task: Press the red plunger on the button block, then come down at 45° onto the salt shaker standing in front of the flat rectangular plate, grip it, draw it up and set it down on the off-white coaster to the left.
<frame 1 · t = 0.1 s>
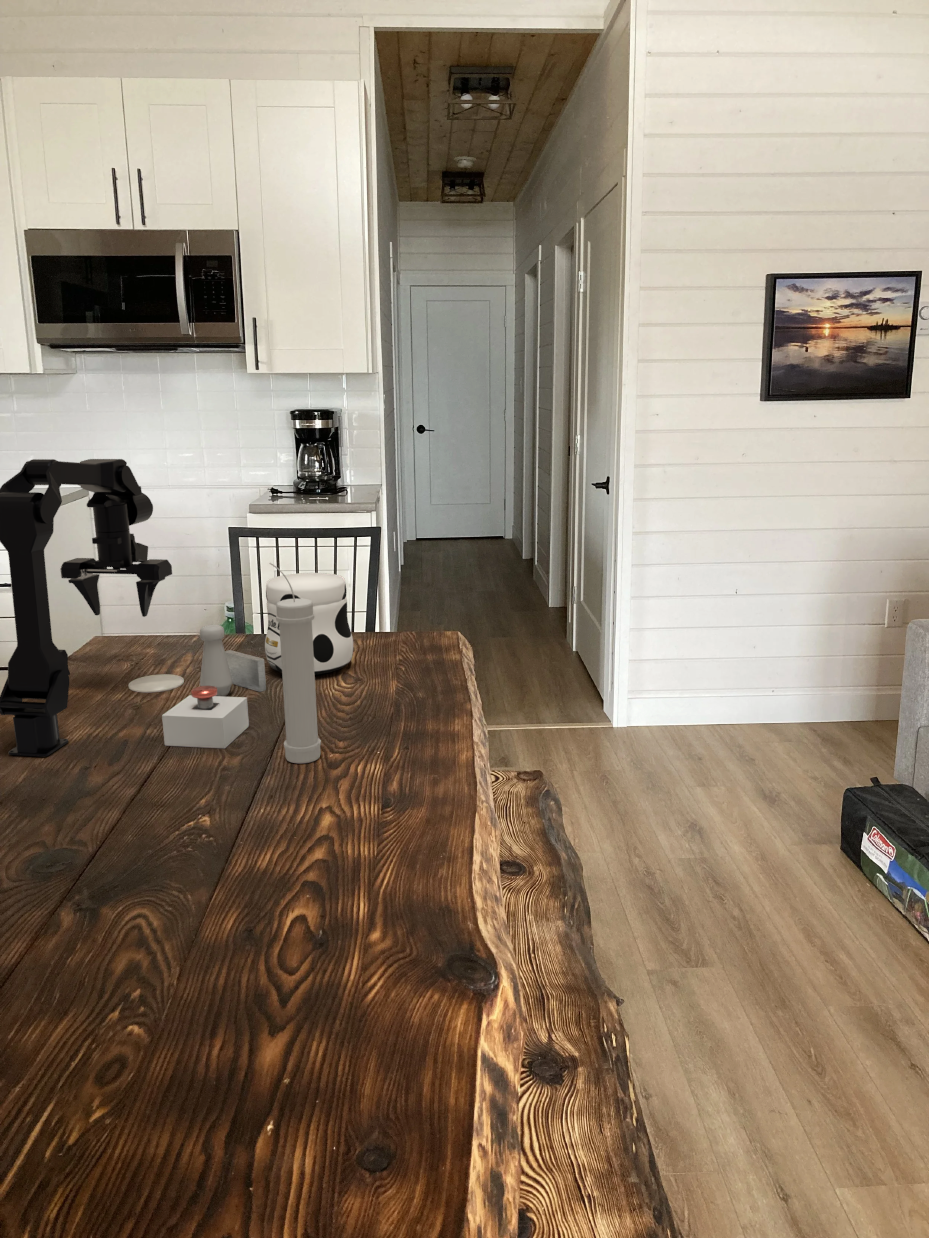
hand: (121, 615, 172), 15 cm above the table, tool pointing down, fingers open, 9 cm apart
button block: (207, 735, 153), on the table
coaster: (156, 684, 180), on the table
salt shaker: (217, 695, 173), on the table
grey cylinder: (301, 758, 144), on the table
plunger: (205, 705, 152), point 5 cm above the table, slide at 0.0 cm
milk container: (310, 669, 189), on the table
flat rectangular plate: (245, 685, 178), on the table
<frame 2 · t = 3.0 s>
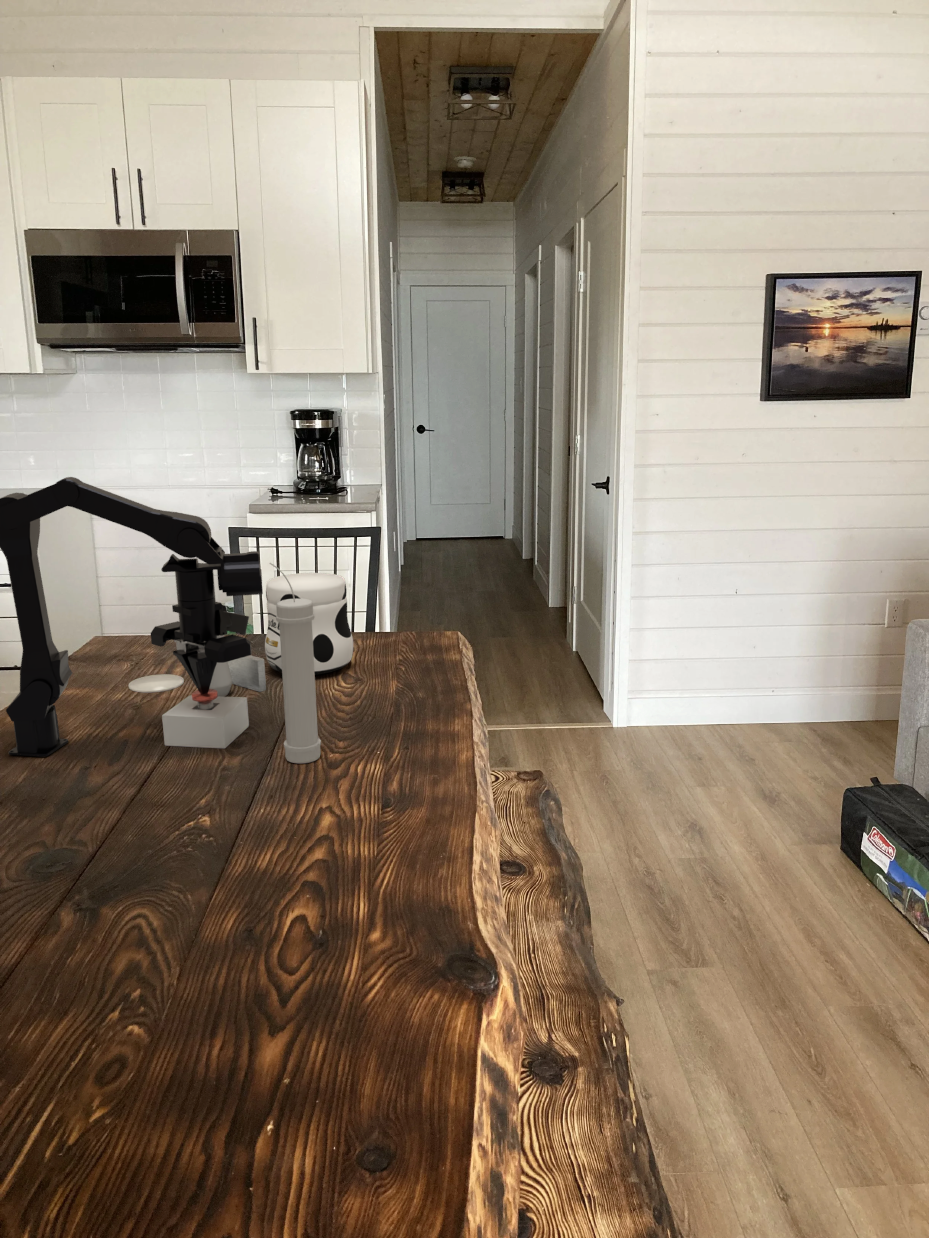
hand: (204, 692, 151), 7 cm above the table, tool pointing down, fingers closed, pressing on plunger
plunger: (205, 708, 152), point 5 cm above the table, slide at 0.6 cm, touching gripper
everything else where it was.
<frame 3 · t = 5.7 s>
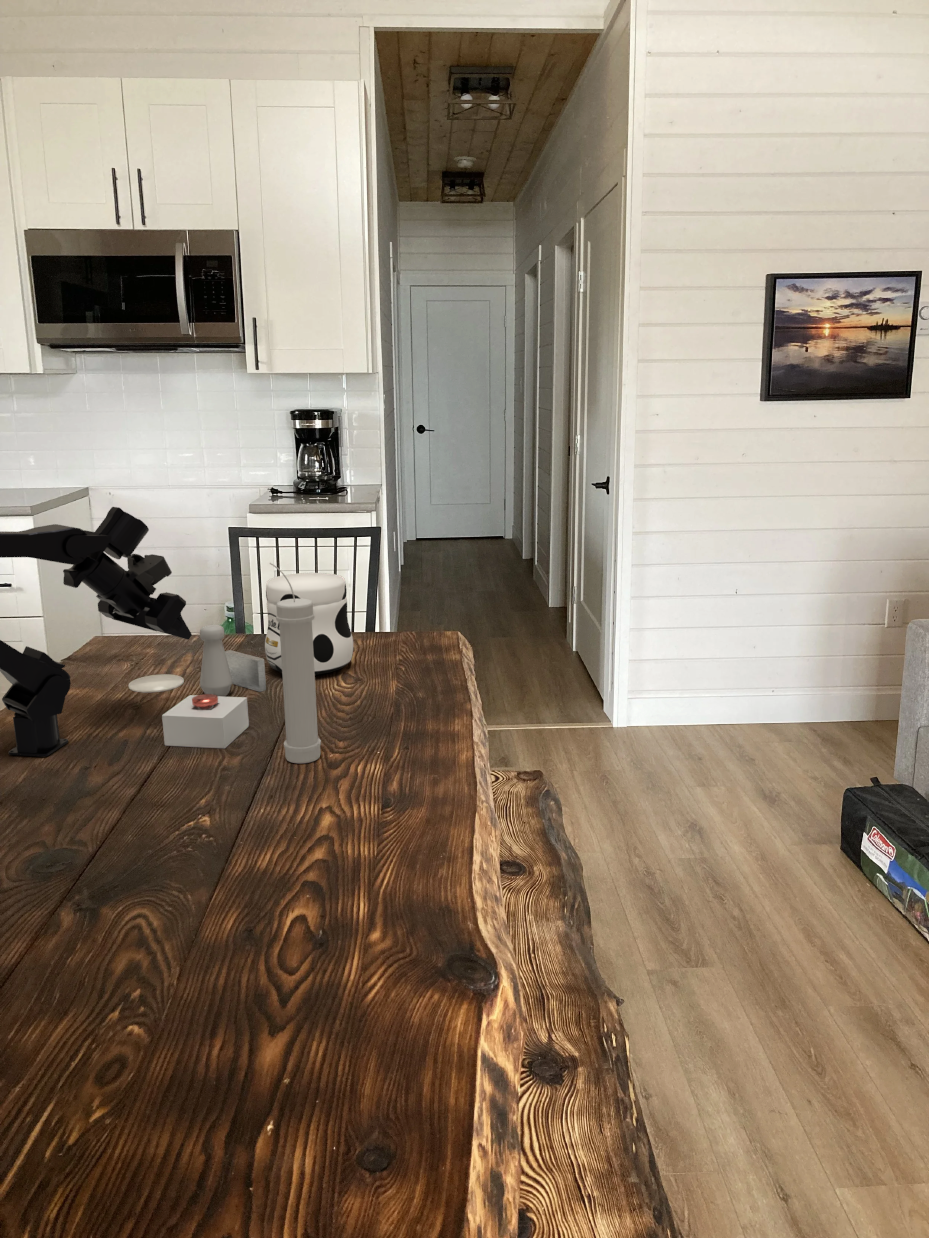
hand: (174, 633, 164), 13 cm above the table, tool tilted 45°, fingers open, 9 cm apart
plunger: (206, 713, 152), point 4 cm above the table, slide at 1.4 cm
everything else where it was.
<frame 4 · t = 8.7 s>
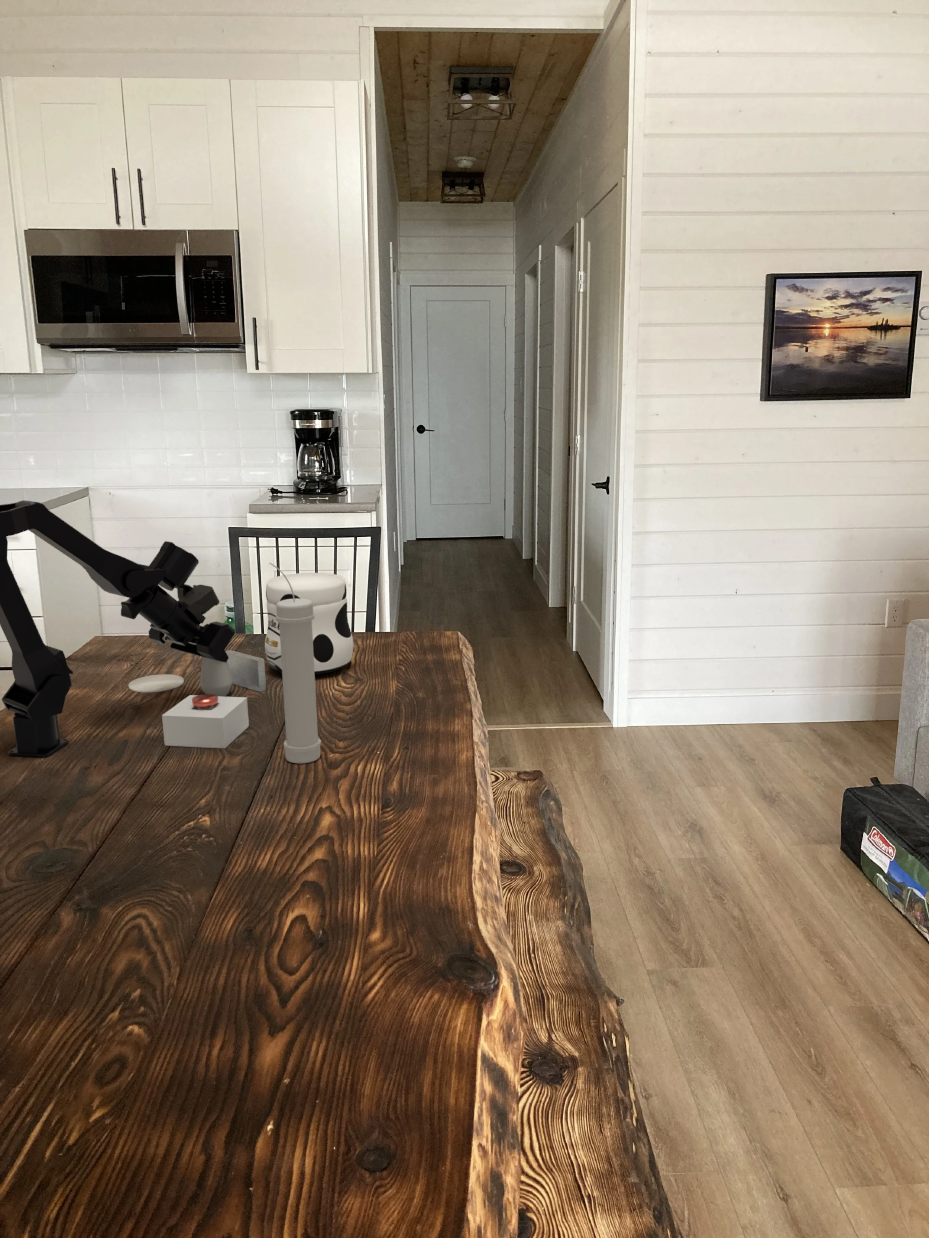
hand: (220, 658, 173), 7 cm above the table, tool tilted 45°, fingers closed on salt shaker, 3 cm apart
salt shaker: (217, 695, 173), on the table, touching gripper
everything else where it was.
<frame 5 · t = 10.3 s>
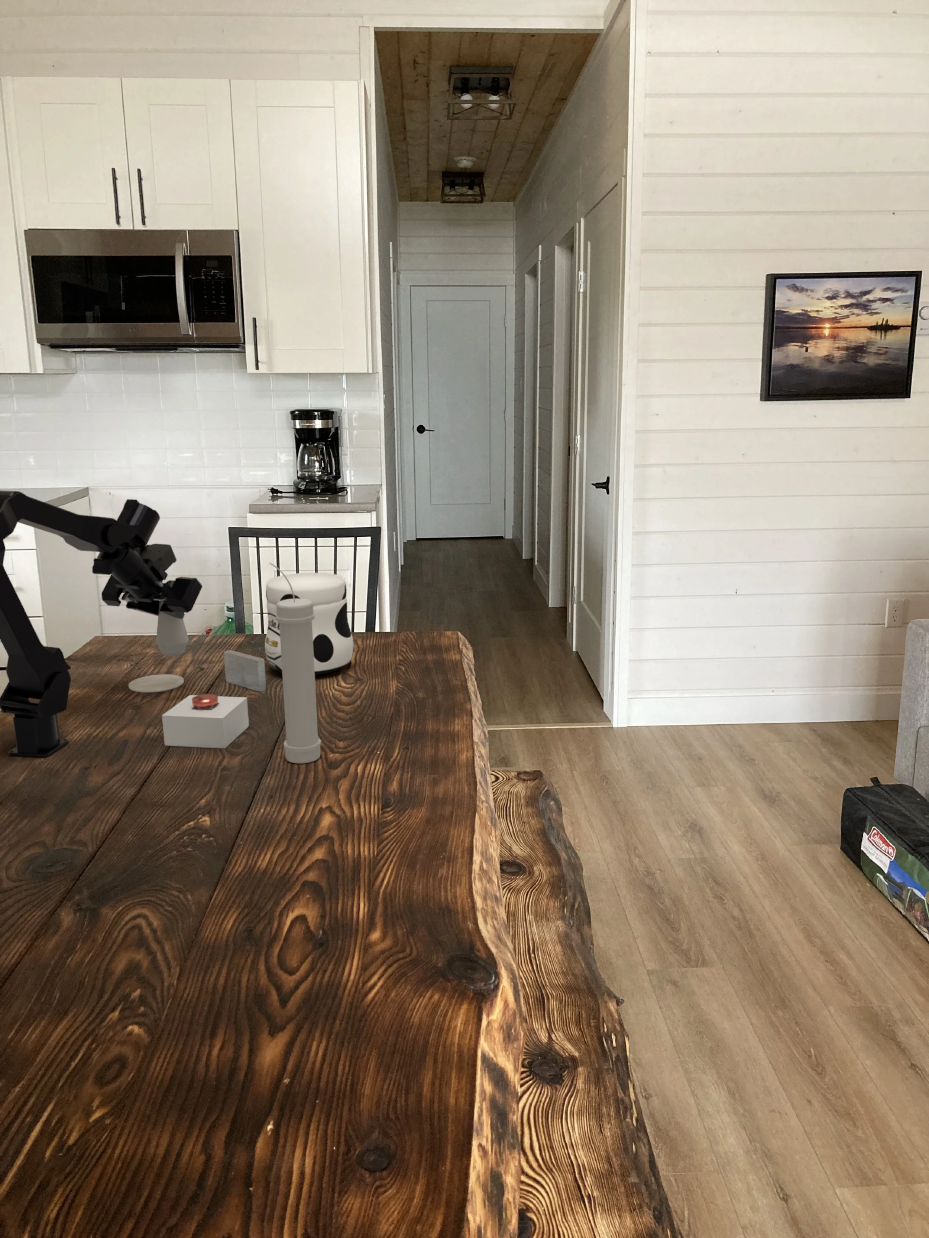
hand: (174, 616, 176), 13 cm above the table, tool tilted 45°, fingers closed on salt shaker, 3 cm apart
salt shaker: (173, 653, 177), point 6 cm above the table, touching gripper
everything else where it was.
when the fingers open (7 cm above the table, at t = 12.2 s): salt shaker stays where it is, resting on coaster.
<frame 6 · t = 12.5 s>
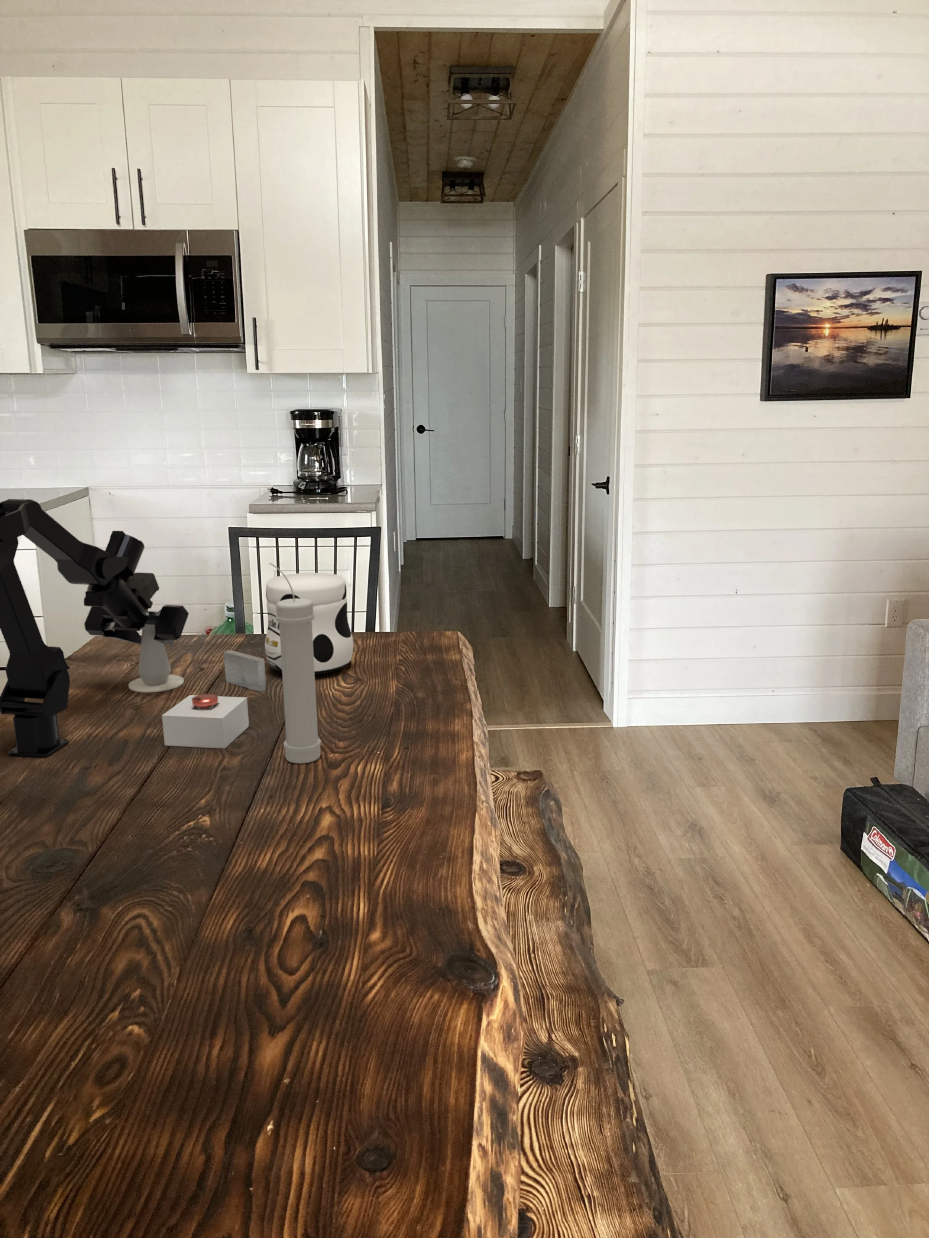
hand: (156, 642, 179), 8 cm above the table, tool tilted 45°, fingers open, 6 cm apart
salt shaker: (155, 683, 179), resting on coaster
everything else where it was.
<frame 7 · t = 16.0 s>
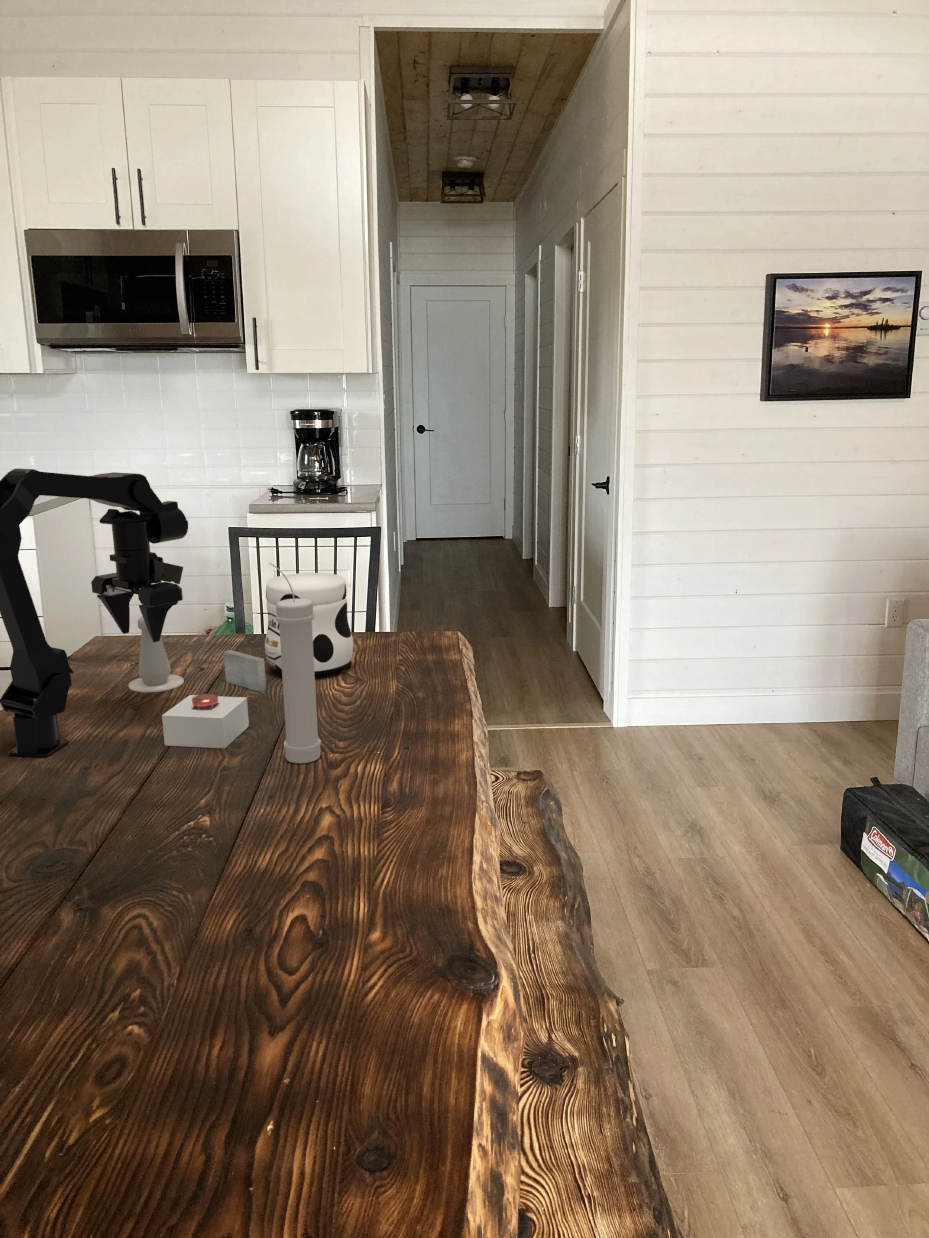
hand: (140, 637, 163), 13 cm above the table, tool pointing down, fingers open, 9 cm apart
nothing on the table moved.
at the end: salt shaker 0.3 cm from the coaster (horizontally); salt shaker tilted 0°; plunger slide at 1.4 cm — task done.
